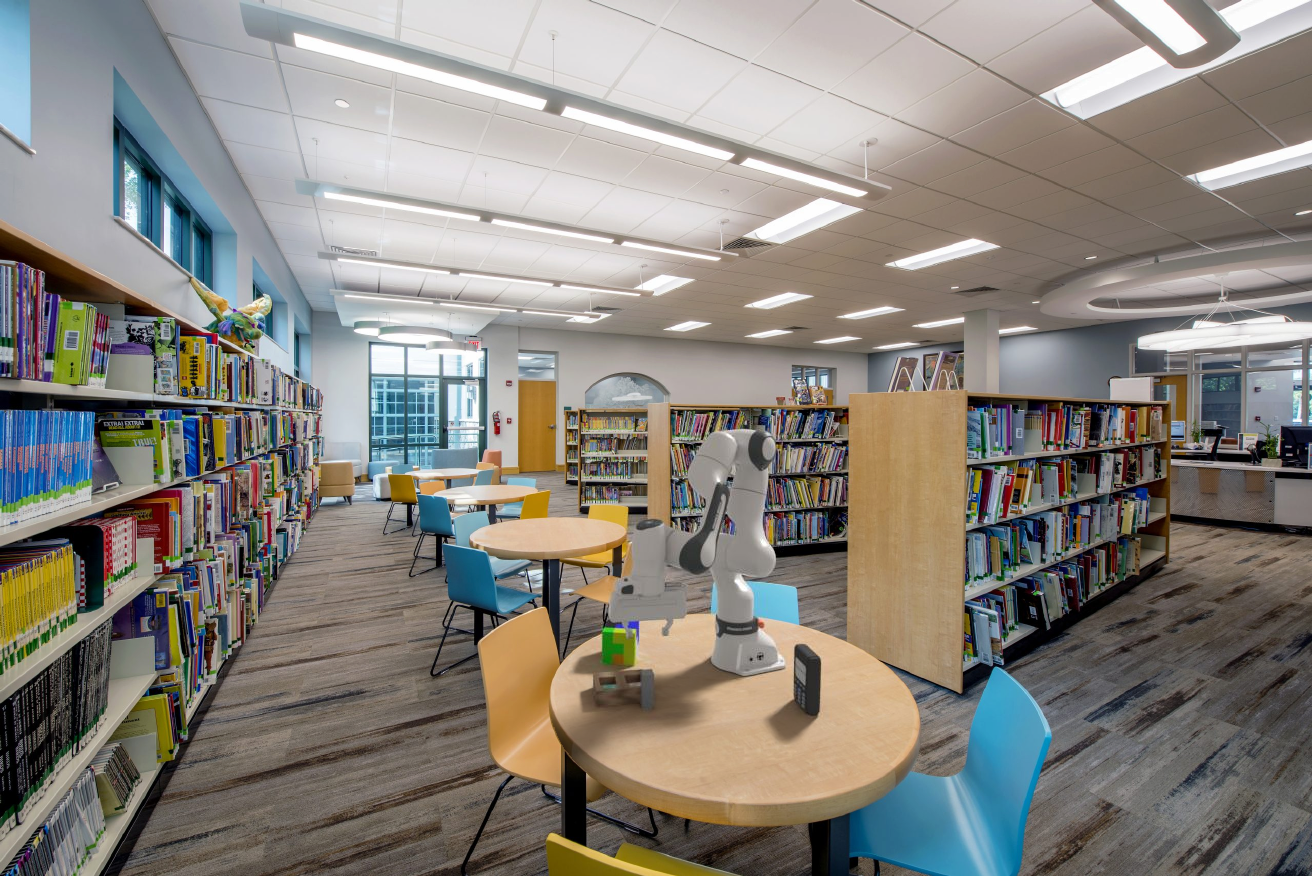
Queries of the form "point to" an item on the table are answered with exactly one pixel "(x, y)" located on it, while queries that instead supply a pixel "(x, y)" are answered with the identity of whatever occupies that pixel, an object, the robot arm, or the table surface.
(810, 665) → the card reader
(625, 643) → the puzzle toy
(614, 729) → the table surface
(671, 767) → the table surface
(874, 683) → the table surface
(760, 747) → the table surface
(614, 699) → the socket block
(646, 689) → the plug
